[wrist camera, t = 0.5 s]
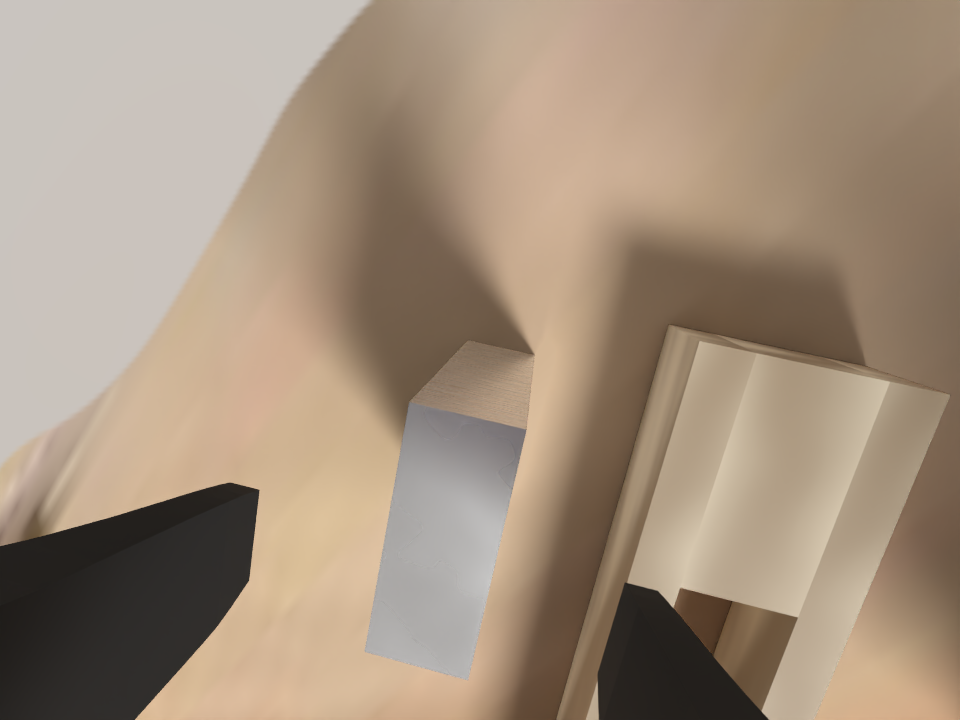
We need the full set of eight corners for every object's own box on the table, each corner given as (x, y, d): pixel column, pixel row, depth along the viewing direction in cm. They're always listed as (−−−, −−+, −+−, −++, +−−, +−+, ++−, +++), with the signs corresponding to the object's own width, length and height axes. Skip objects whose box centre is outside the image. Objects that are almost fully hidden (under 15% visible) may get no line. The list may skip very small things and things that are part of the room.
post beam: (866, 366, 17) (950, 394, 13) (676, 870, 21) (701, 987, 18) (668, 324, 17) (699, 341, 14) (525, 826, 22) (522, 931, 18)
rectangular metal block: (534, 354, 18) (526, 429, 10) (499, 508, 19) (467, 680, 11) (467, 340, 18) (409, 401, 10) (437, 493, 19) (364, 651, 12)
